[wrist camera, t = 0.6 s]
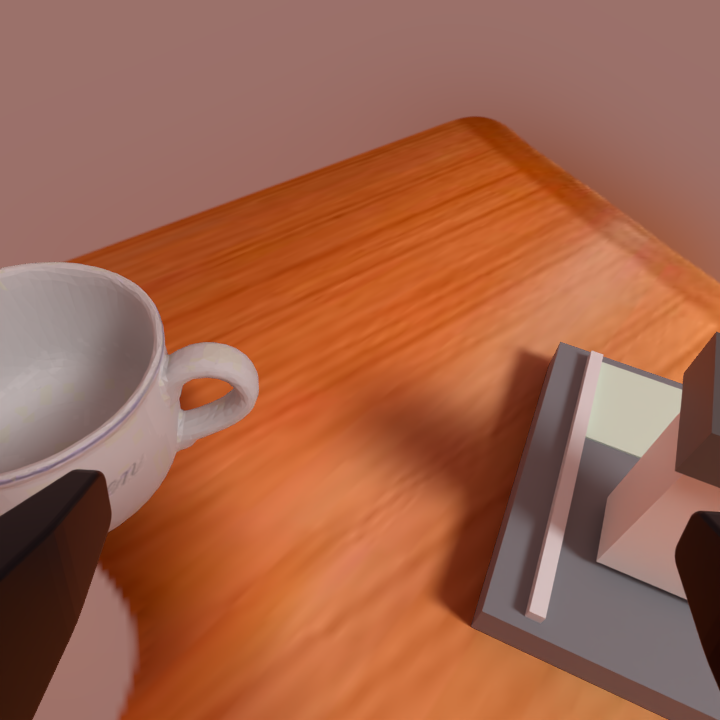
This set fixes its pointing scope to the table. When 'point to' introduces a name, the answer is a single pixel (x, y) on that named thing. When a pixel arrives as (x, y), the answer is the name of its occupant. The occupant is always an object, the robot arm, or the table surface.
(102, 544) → the robot arm
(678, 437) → the fader knob
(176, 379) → the teacup
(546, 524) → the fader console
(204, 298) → the table surface
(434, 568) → the table surface
